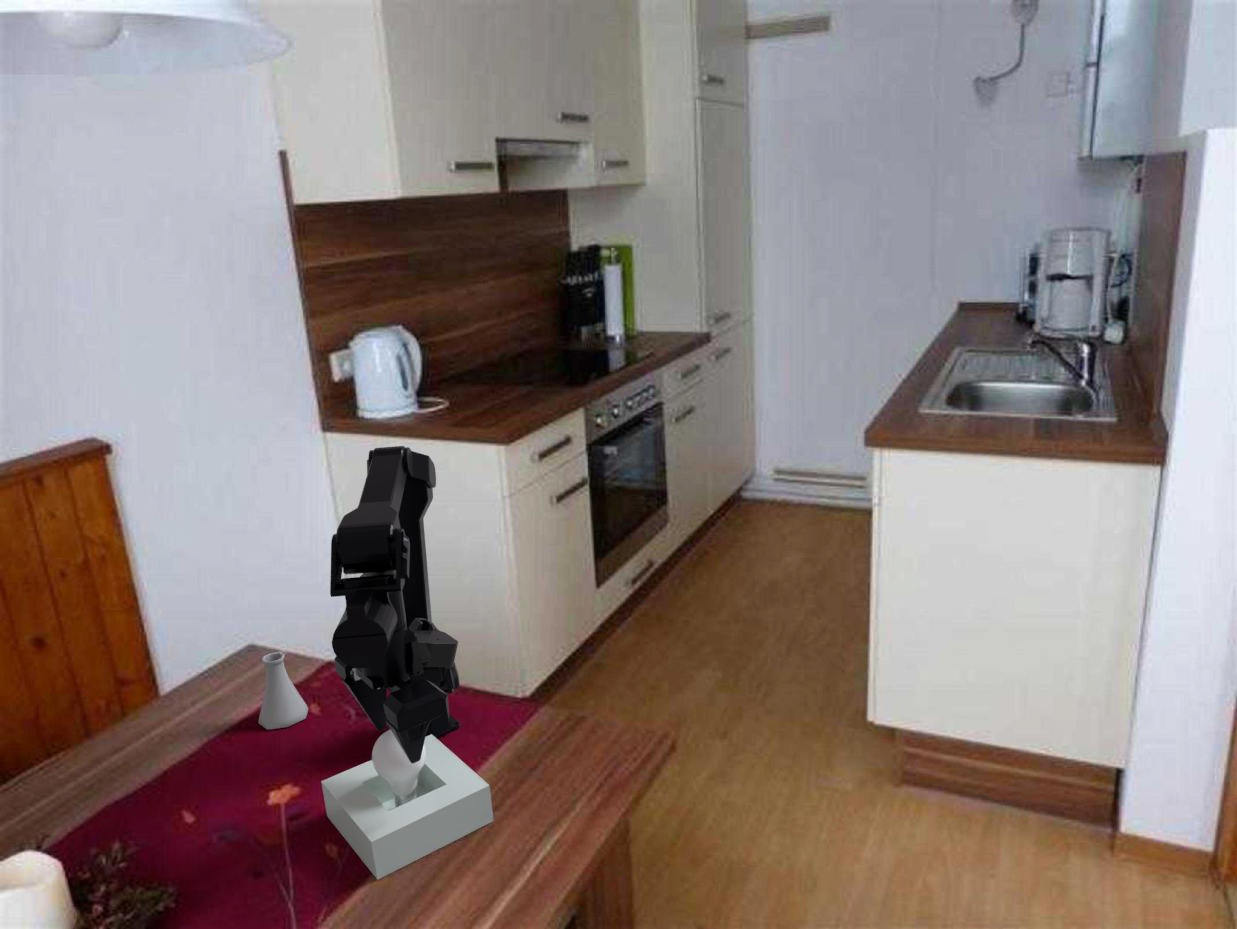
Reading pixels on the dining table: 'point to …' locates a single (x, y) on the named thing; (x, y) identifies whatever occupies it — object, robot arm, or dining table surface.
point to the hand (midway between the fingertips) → (398, 745)
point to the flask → (280, 696)
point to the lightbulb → (397, 767)
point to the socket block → (407, 810)
